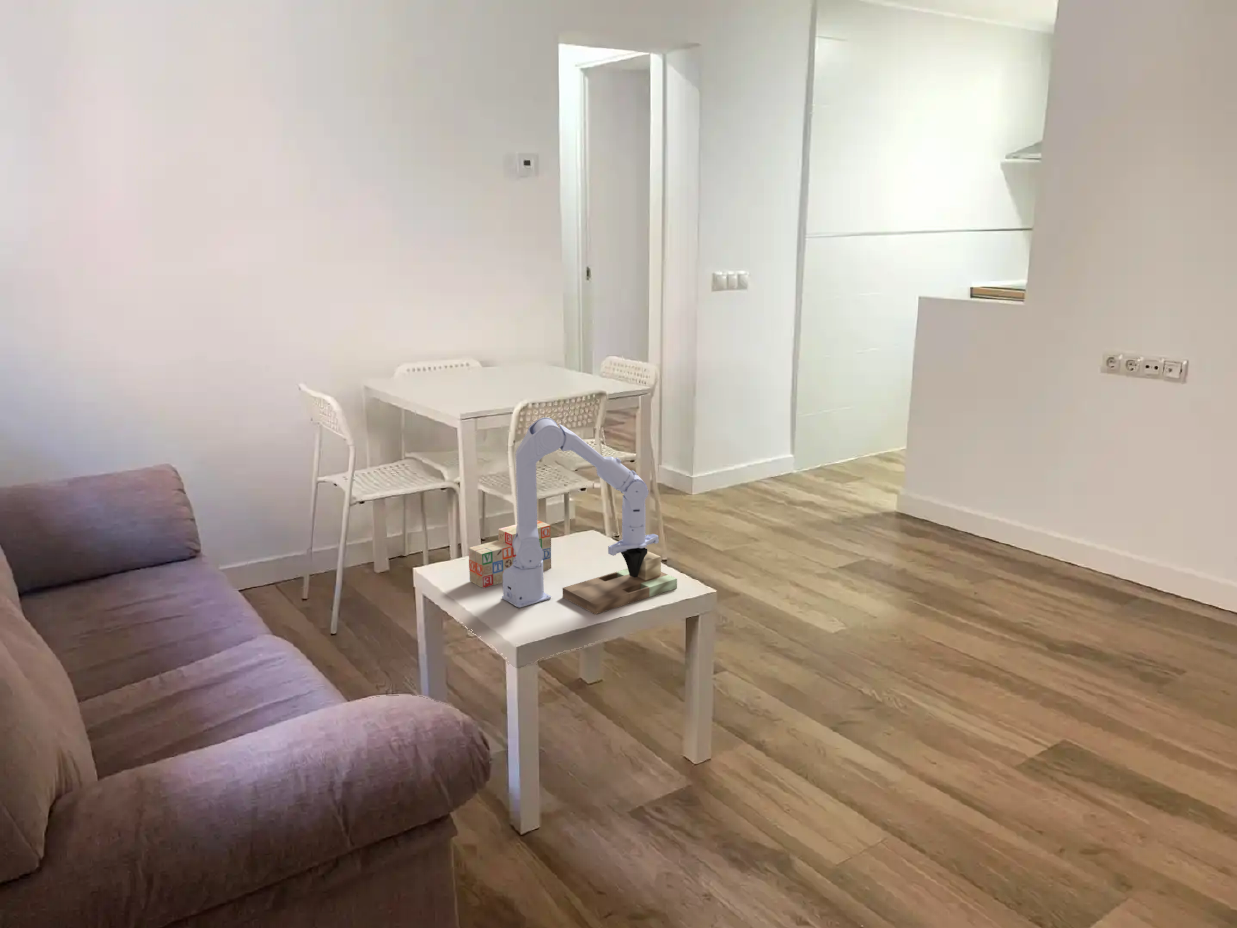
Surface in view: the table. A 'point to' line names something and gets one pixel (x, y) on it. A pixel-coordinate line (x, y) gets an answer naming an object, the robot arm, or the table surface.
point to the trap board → (616, 590)
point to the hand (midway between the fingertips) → (633, 575)
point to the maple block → (650, 566)
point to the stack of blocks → (503, 555)
